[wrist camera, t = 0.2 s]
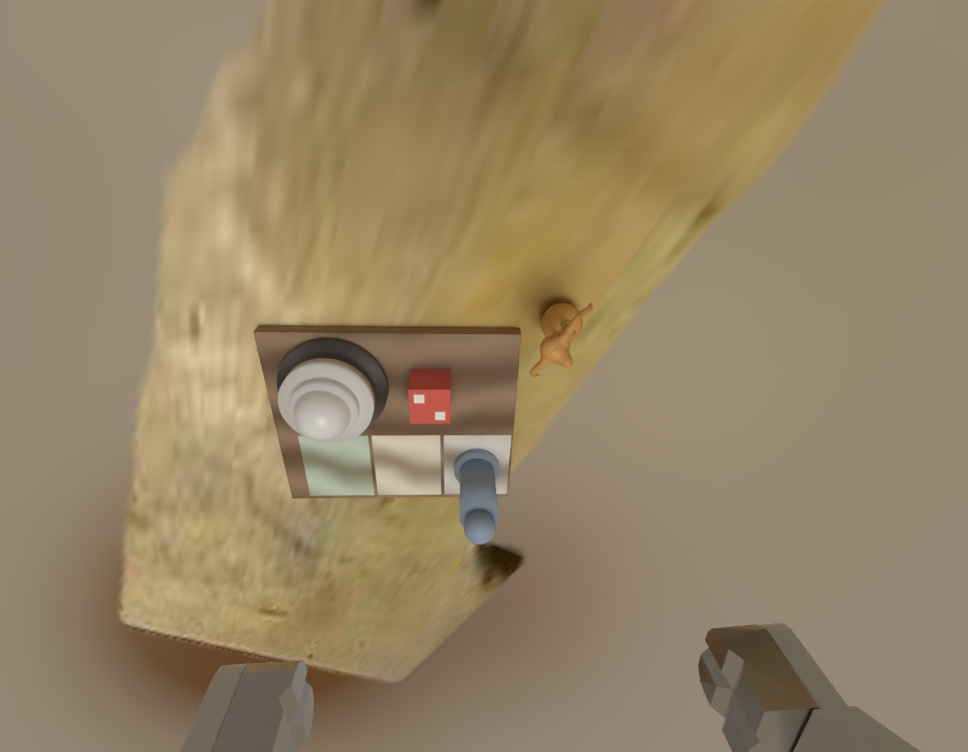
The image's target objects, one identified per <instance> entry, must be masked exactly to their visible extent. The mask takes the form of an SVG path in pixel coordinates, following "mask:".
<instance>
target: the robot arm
mask: <svg viewBox="0 0 968 752" xmlns="http://www.w3.org/2000/svg"><path fill="white" fill-rule="evenodd" d="M705 641H706V643H707V645H708V647H709V648H708V649H707V650H706V651H704V652H703V653H702V654H701V656H700V661H699V665H698V667H699V676H700V681H701V684H702V687H703V690H704V693H705V695H706V698H707V700H708V702H709V704H710V706H711V707H712V708H714V709H715V710H716V711H717V712H718V713H719V714H721V715H722V716H723V717H724V719H723V728H722V731H723V733H724V735H725V737H726V739H727V741H728V744H729V746H730V748H731V750H732V751H733V752H920V751H919V750H918V749H916V748H915V747H913V746H912V745H910V744H909V743H908V742H906V741H905V740H903V739H902V738H901V737H899V736H898V735H896V734H895V733H893V732H892V731H890V730H889V729H888V728H886V727H885V726H883V725H882V724H881V723H879V722H878V721H876V720H875V719H874V718H872V717H871V716H869V715H868V714H866V713H865V712H863V711H862V710H861V709H859V708H858V707H856V706H848V705H847V704H846V703H845V701H844V700H843V699H842V697H841V696H840V695H839V693H838V692H837V691H836V689H835V688H834V687H833V685H832V684H831V682H830V681H829V680H828V678H827V677H826V676H825V674H824V673H823V672H822V670H821V669H820V668H819V666H818V665H817V664H816V662H815V661H814V659H813V658H812V657H811V655H810V654H809V653H808V651H807V650H806V648H805V647H804V646H803V644H802V643H801V642H800V640H799V639H798V638H797V636H796V635H795V634H794V632H793V631H792V630H791V628H789V627H788V626H787V625H785V624H782V623H774V624H764V625H744V626H735V627H724V628H714V629H711V630H709V631H708V632H707V635H706V638H705ZM306 674H307V668H306V665H305V662H304V660H302V661H287V662H272V663H257V664H238V665H226V666H221V667H220V668H219V670H218V671H217V672H216V674H215V675H214V676H213V678H212V681H211V683H210V685H209V688H208V690H207V692H206V694H205V696H204V699H203V701H202V703H201V705H200V708H199V710H198V712H197V715H196V717H195V719H194V721H193V724H192V726H191V728H190V730H189V732H188V735H187V737H186V739H185V742H184V744H183V746H182V749H181V751H180V752H299V751H300V750H301V749H302V748H303V747H304V745H305V744H306V743H307V742H308V739H309V735H310V730H311V725H312V717H313V708H314V702H313V701H314V700H313V691H312V687H311V685H310V684H308V683H307V682H305V678H306Z"/></svg>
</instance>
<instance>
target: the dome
mask: <svg viewBox="0 0 968 752" xmlns="http://www.w3.org/2000/svg"><path fill="white" fill-rule="evenodd" d="M278 407H279V410H280V413H281V415H282V417H283V418H284V420H285V421H286V422H287V424H288V425H289V426H290V427H291V428H292V429H294V430H295V431H296V432H298V433H299V434H301V435H302V436H304V437H307V438H309V439H312V440H314V441H318V442H324V443H339V442H345V441H348V440H351V439H353V438H355V437H357V436H359V435H360V434H361V433H363V432H364V431H365V430H366V428H367V427H368V426H369V424H370V422H371V419H372V416H373V412H374V409H375V393H374V390H373V388H372V386H371V384H370V382H369V381H368V379H367V378H366V377H365V376H364V375H363V374H362V373H361V372H360V371H359V370H358V369H356V368H355V367H353V366H351V365H349V364H347V363H345V362H343V361H339V360H336V359H330V358H316V359H311V360H307V361H304V362H302V363H300V364H299V365H297V366H295V367H294V368H293V369H292V370H291V371H290V372H289V373H288V375H287V376H286V378H285V380H284V381H283V383H282V385H281V386H280V389H279V392H278Z"/></svg>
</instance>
